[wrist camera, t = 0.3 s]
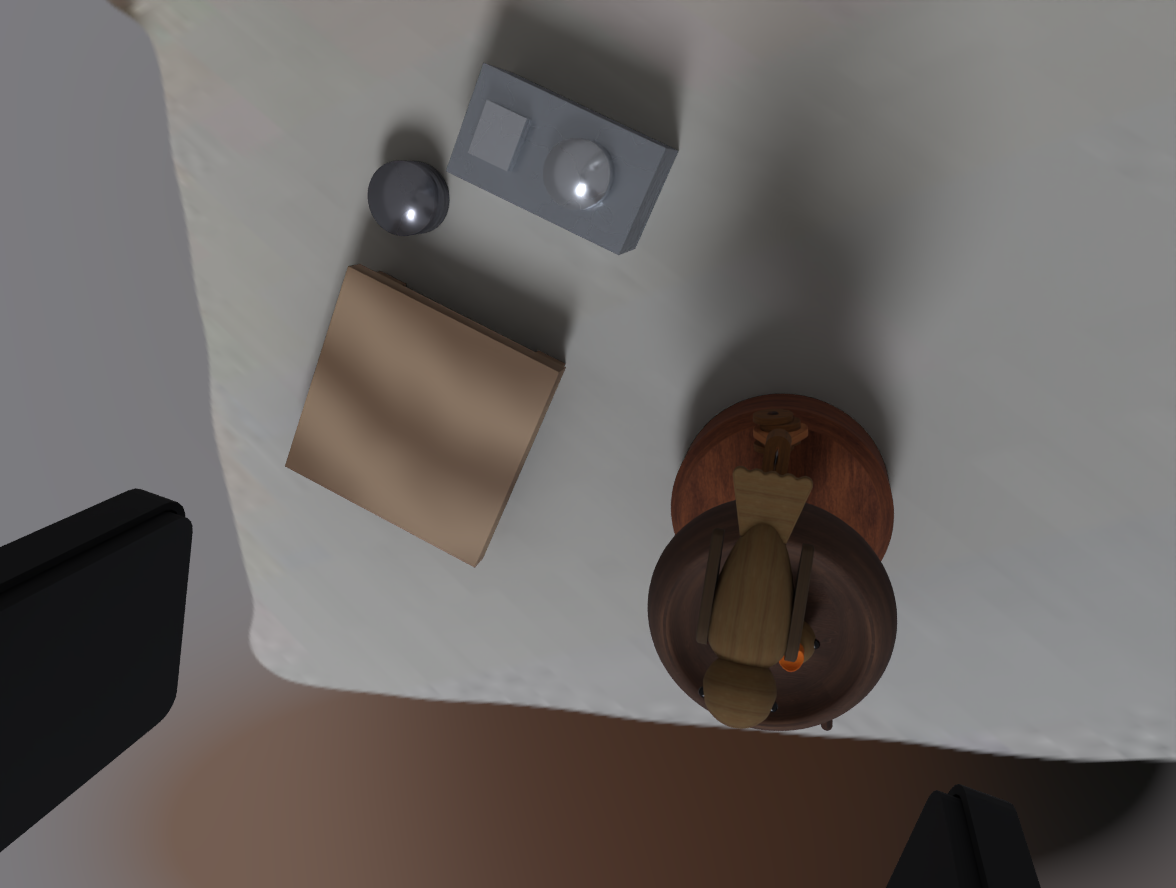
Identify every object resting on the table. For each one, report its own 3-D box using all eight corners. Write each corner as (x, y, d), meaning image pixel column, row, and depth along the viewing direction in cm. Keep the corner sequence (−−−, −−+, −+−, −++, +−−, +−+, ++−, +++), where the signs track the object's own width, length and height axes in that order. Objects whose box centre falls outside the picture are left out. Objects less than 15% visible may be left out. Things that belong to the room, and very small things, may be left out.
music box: (643, 384, 45) (571, 520, 26) (863, 340, 42) (962, 455, 23) (702, 650, 48) (677, 942, 29) (909, 623, 46) (1027, 923, 27)
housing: (513, 72, 42) (475, 59, 38) (679, 150, 41) (661, 147, 37) (477, 171, 44) (437, 170, 40) (636, 248, 43) (613, 257, 39)
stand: (376, 261, 47) (348, 266, 44) (575, 360, 45) (559, 372, 43) (314, 450, 51) (284, 466, 48) (494, 545, 50) (474, 567, 47)
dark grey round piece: (398, 149, 45) (380, 148, 43) (459, 179, 44) (444, 179, 43) (377, 215, 46) (358, 217, 44) (436, 244, 46) (420, 247, 44)
